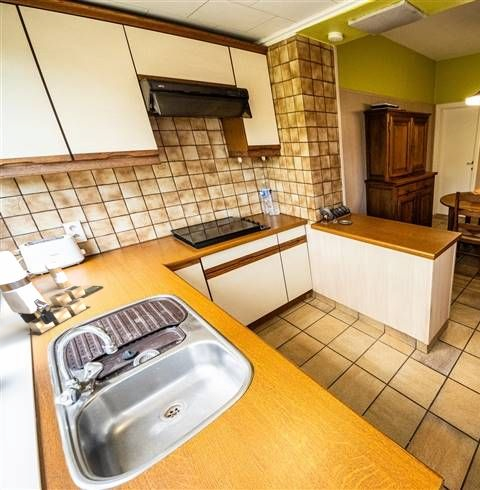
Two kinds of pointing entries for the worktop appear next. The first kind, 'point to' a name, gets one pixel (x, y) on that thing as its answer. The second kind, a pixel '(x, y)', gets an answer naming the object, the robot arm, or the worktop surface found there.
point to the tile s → (40, 325)
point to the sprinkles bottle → (58, 275)
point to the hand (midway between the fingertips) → (41, 321)
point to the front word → (65, 313)
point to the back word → (72, 295)
